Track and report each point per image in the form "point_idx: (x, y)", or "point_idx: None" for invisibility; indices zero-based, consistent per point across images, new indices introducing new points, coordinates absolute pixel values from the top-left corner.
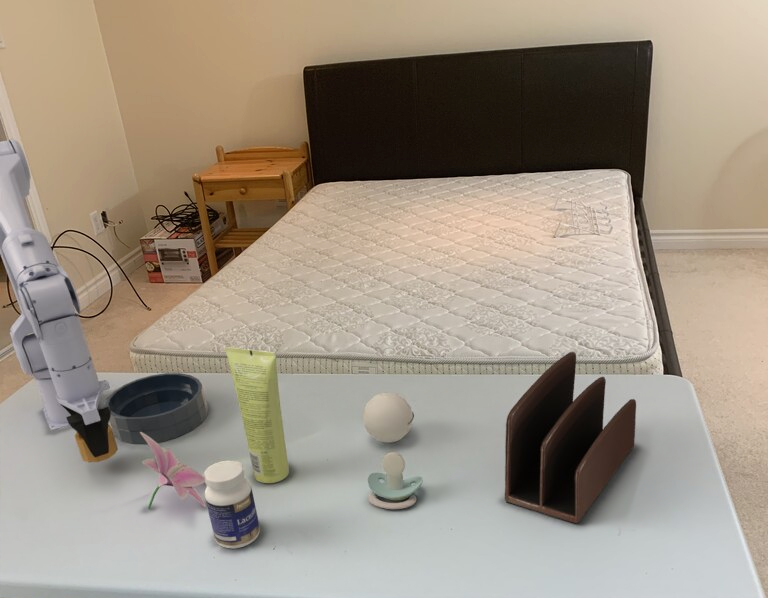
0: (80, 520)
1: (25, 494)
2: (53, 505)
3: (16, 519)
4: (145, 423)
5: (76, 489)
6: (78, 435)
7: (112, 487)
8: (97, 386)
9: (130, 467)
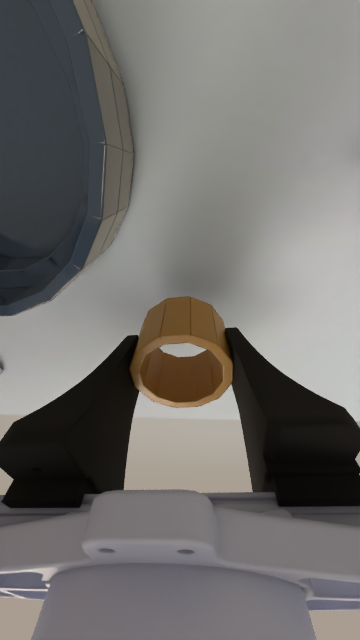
0: (321, 355)
1: None
2: None
3: None
4: (109, 203)
5: None
6: (176, 400)
7: (259, 304)
8: (260, 621)
9: (205, 262)
